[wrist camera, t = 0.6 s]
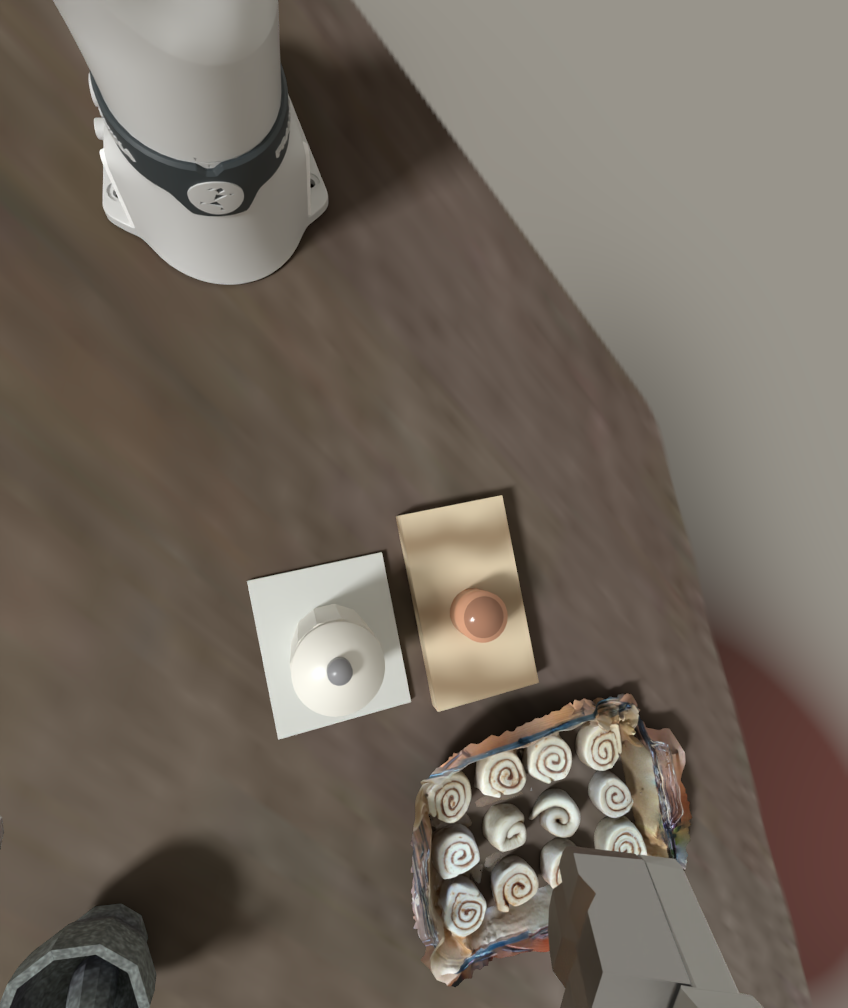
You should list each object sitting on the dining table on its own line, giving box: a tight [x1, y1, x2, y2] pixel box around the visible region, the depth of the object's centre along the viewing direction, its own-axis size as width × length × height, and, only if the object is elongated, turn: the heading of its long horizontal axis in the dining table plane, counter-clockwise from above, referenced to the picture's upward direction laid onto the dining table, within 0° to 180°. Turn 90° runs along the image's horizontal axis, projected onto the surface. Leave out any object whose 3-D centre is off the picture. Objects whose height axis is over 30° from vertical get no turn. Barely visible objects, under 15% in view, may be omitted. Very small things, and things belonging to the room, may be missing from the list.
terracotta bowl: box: [450, 588, 508, 643], centre depth 48 cm, size 4×4×3 cm
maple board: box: [396, 495, 539, 712], centre depth 51 cm, size 18×10×2 cm, turn 12°
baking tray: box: [410, 693, 692, 987], centre depth 50 cm, size 30×22×5 cm
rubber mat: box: [247, 552, 411, 739], centre depth 49 cm, size 14×12×1 cm
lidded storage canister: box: [290, 604, 385, 717], centre depth 43 cm, size 7×7×10 cm
